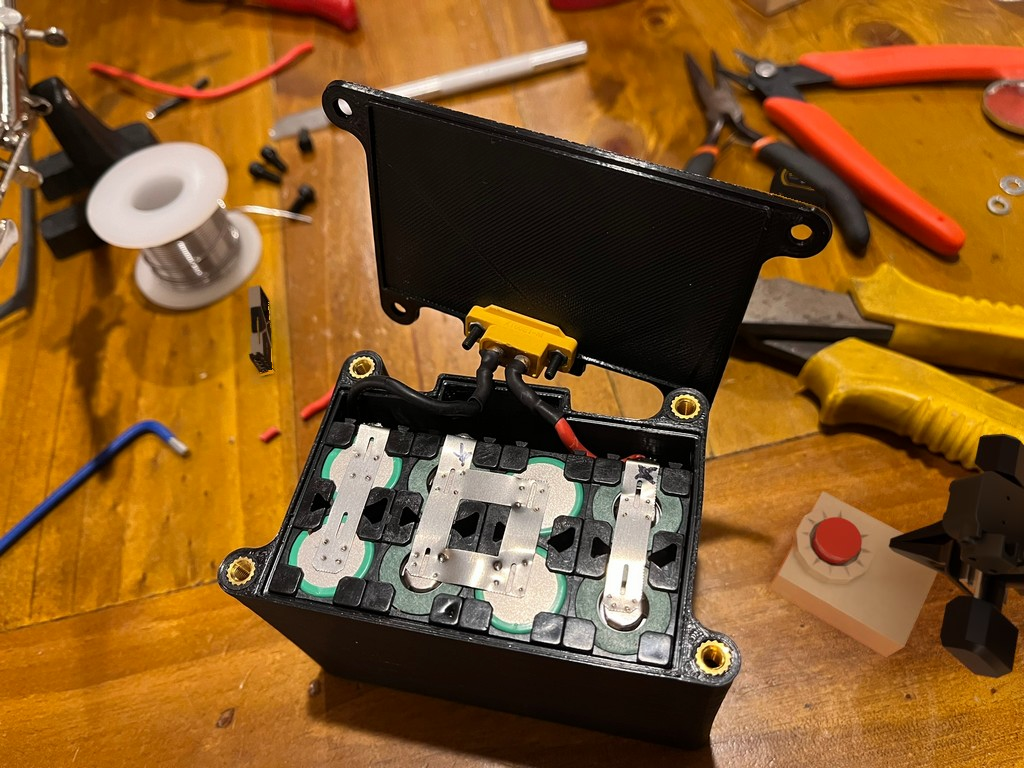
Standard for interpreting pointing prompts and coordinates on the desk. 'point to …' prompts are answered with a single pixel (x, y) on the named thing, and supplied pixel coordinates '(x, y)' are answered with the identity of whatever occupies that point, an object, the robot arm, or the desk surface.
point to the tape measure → (795, 188)
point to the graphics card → (260, 329)
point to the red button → (837, 540)
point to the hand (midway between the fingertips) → (891, 545)
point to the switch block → (855, 580)
